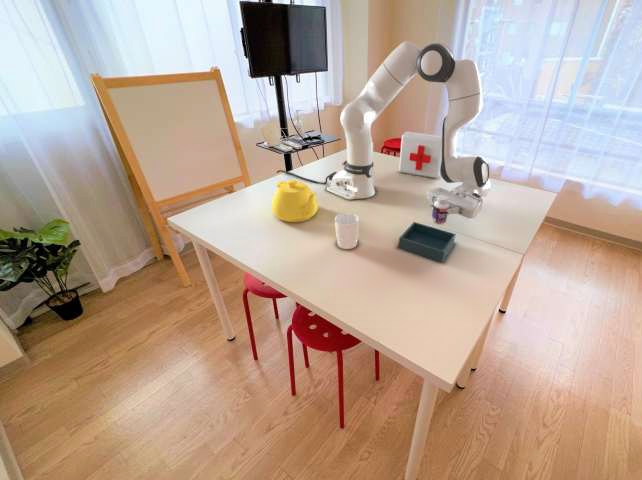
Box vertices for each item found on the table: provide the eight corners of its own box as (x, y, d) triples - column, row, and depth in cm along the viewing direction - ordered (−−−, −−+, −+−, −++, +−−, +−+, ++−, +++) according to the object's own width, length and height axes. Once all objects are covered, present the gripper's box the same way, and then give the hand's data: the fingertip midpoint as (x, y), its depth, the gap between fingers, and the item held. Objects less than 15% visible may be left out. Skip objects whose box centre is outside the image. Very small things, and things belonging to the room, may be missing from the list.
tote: (398, 247, 105) (399, 237, 102) (412, 231, 114) (413, 221, 111) (442, 262, 99) (444, 252, 96) (453, 243, 108) (455, 234, 105)
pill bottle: (437, 226, 109) (441, 201, 104) (428, 219, 113) (431, 195, 107) (448, 223, 111) (454, 198, 106) (439, 216, 115) (444, 192, 109)
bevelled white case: (397, 173, 159) (400, 134, 148) (401, 168, 166) (405, 130, 154) (437, 180, 153) (443, 140, 142) (440, 175, 159) (447, 135, 148)
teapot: (335, 218, 120) (333, 185, 112) (297, 234, 110) (293, 200, 102) (298, 197, 134) (294, 167, 126) (261, 210, 124) (255, 178, 116)
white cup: (355, 251, 102) (355, 226, 96) (332, 248, 103) (331, 223, 98) (360, 239, 109) (361, 214, 103) (339, 236, 110) (338, 211, 104)
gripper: (440, 181, 120) (418, 190, 113) (487, 199, 109) (466, 211, 101) (437, 195, 124) (415, 206, 116) (483, 215, 112) (462, 227, 104)
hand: (439, 208), depth 108 cm, fingers closed on pill bottle, 5 cm apart
